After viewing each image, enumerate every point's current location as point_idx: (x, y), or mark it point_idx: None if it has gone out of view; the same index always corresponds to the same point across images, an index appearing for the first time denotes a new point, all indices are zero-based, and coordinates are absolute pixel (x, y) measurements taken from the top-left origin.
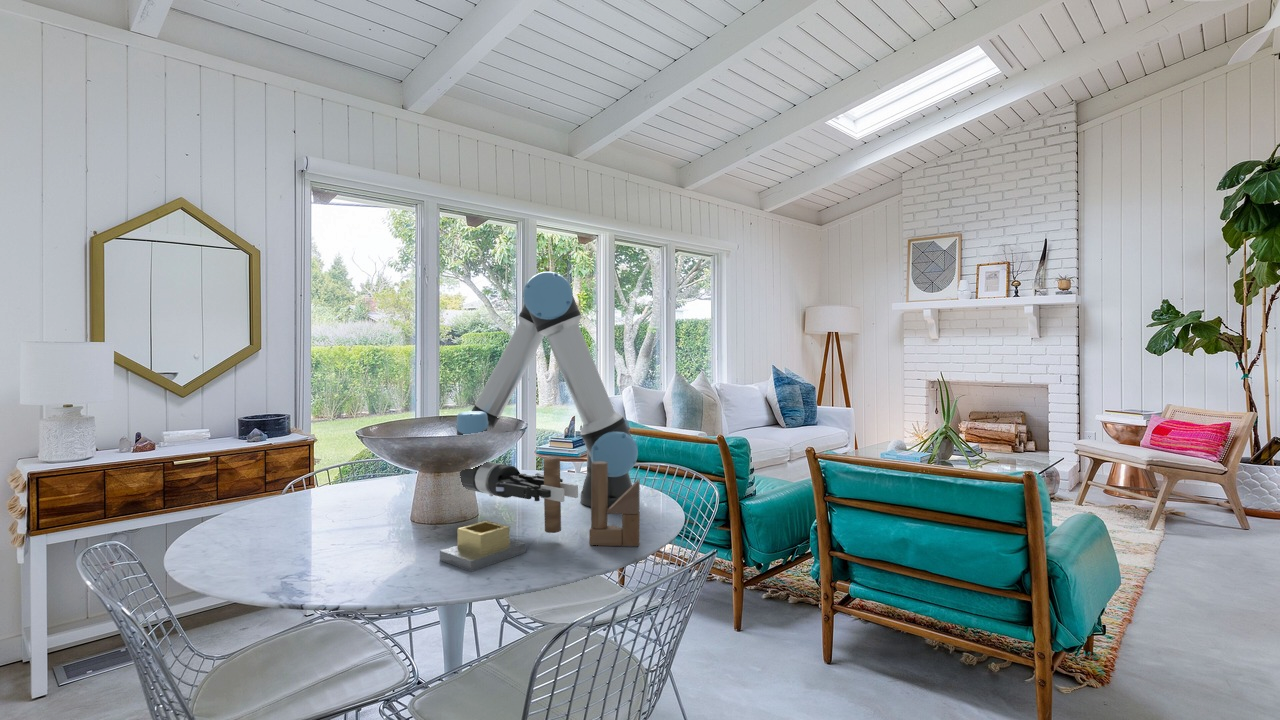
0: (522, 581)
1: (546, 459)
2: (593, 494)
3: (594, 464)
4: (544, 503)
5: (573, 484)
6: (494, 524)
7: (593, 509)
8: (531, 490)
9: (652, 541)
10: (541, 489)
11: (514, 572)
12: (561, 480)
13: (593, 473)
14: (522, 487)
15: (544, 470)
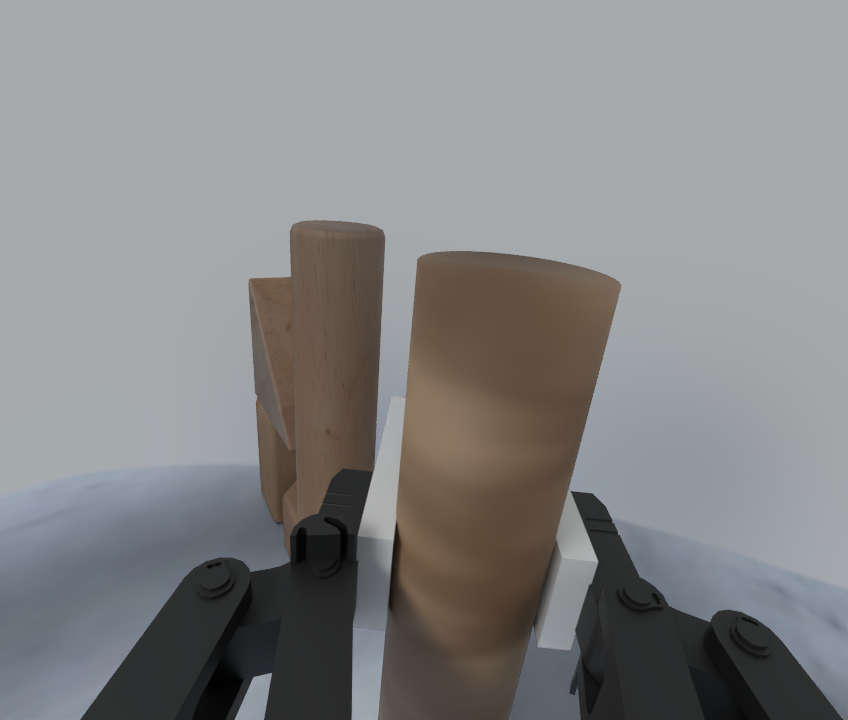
0: (776, 575)
1: (587, 280)
2: (376, 392)
3: (383, 234)
4: (517, 681)
5: (393, 413)
6: None
7: (373, 456)
8: (705, 625)
9: (240, 471)
10: (605, 554)
11: (797, 648)
12: (235, 564)
13: (382, 286)
14: (838, 715)
15: (589, 407)
